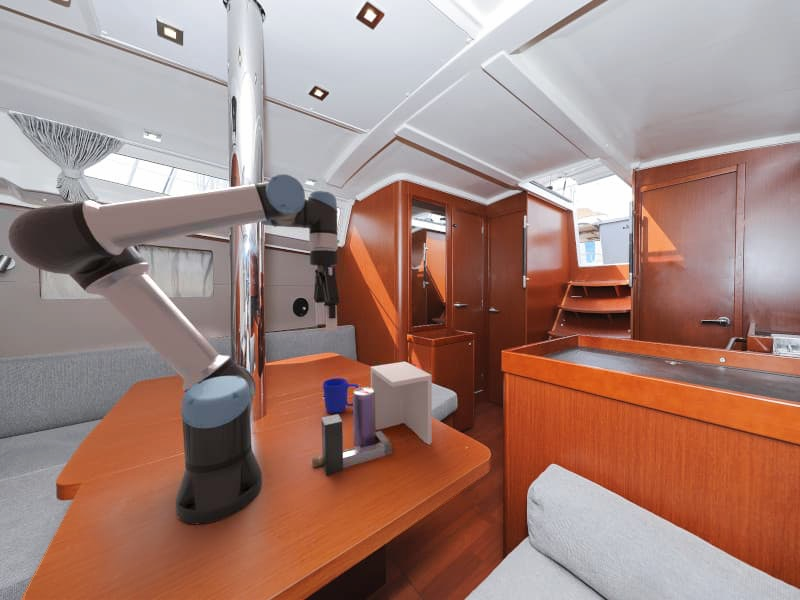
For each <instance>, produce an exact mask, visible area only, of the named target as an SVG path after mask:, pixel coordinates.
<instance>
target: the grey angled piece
mask: <svg viewBox="0 0 800 600" xmlns="http://www.w3.org/2000/svg"><path fill="white" fill-rule="evenodd" d="M321 440H322V442H321V445H322V447H321V448H322V449H321V451H322V452H321V453H322V455H321V456H323V465H322V468H323V471H324V474H325V477H327V476H331V475H334V474H337V473H341V472H344V469H345V468H348V467H351V466H355V465H358V464H361V463H365V462H368V461H372V460H376V459H379V458H382V457H386V456H389V455H392V454H393V444H392V442H390V440H389V438H388V437H386V435H385V434H384V433H383V432H382V430H377V431H376V442H375V444H374V445H370V446H367V447H363V448H359V449H356V450H352V451H348V452H344V453H343V450H344V442H343V441H344V440H343V420H342V418H341V416H340V415H339V413H336V414H333V415H327V416H323V417H321Z"/></svg>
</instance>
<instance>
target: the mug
mask: <svg viewBox="0 0 800 600" xmlns="http://www.w3.org/2000/svg"><path fill="white" fill-rule="evenodd" d="M349 387H355V389H357V388H359V384H358V383H348V380H347V379H345V378H340V377H339V378H338V377H334V378H330V379H329V378H328V379H326V380H324V381H323V383H322V388H323V398H324V407H325V410H326V412H327V413H329V414H339V413H342V412H343V411H345V409H346V407H347V406H348V407H353V402H352V403H349V402H348V390H349Z"/></svg>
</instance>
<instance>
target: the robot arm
mask: <svg viewBox="0 0 800 600" xmlns="http://www.w3.org/2000/svg"><path fill="white" fill-rule="evenodd" d="M305 193H306V192H305V188H304V187H303V184H302V183H301V182H300V181H299V179H297V178H296V177H295V176H293V175H291V174H286V173H279V174H275V175H273V176H272V177H271V178H270V179H269V180H268V181H265V182H259V183H254V184H247V185H246V184H245V185H240V186H230V187H226V188H225V187H224V188H218V189H209V190H204V191H203V190H201V191H195V192H187V193H181V194H173V195H168V196H167V195H166V196H158V197H151V198H144V199H138V200H136V199H135V200H129V201H123V202H115V203H108V204H100V203H98V202H96V201H93V200H91V199H90V200H82V201H75V202H74V201H73V202H66V203H58V204H52V205H45V206H40V207H35V208H34V209H30V210H27V211H25V212H23V213H22V214H20V215H19V216H17V217H15V219H14V220H13V222H12V223H11V224H10V227H9V230H8V241H9V245H10V247H11V249H12V250H13V252H14V253H15V254H16V255H17V257H19V258H20V259H21V260H22V261H24V262H25V263H26V264H28V265H30V266H32V267H34V268H35V269H38V270H41V271H45V272H49V273H53V274H61V275H68V276H70V278H72V280H74V281H75V282H76V283H77V284H78V286H80V288H81V289H82V290H83V291H84V292H85V293H87V294H92V295H99V296H102V297H103V298H104V299H105V300H106V301H107V302H108V303H109V304H110V305H111V307H113V308H114V309H115V310H116V311H117V312H118V313H119V314H120V315H121V317H123V318H124V320H125V321H127V322H128V323H129V325H131V327H133V328H134V330H135V331H136V332H137V333H138V334H139V335H140V336H141V337H142V338H143V339H144V340H145V341H146V342H147V343H148V344H149V345H150V346H151V348H153V349H154V350H155V351H156V352H157V354H159V355H160V356H161V357H162V358H163V360H165V361H166V362H167V364H168V365H169V366H170V367H172V368H173V370H174V371H176V373H177V374H178V375H179V376H180V377H181V378H182V380H183V383H182V385H183V386H182V391H183V392H184V395H182V396H183V397H182V401H181V407H180V413H181V414H180V416H181V418H182V429H183V430H182V432H183V433H182V435H183V450H184V452H183V453H184V461H185V462H184V463H185V464H184V468H185V469H184V473H183V475H182V478H181V482H180V485H179V488H178V492H177V494H176V498H175V514H176V516H178V517H179V518H178V517H177V518H178V519H179V520H180V519H181V520H182V521H181V520H180V521H181V522H183V521H184V522H183V523H185V522H187V523H186V524H189V523H193V525H203V524H209V523H212V522H216V521H219V520H222V519H225V518H227V517H229V516H231V515H233V514H235V513H238V512H239V511H240V510H242V509H243V508H245V507H246V506H247V505H249V504H250V502H252V501H253V500H254V499H255V498H256V497H257V495H258V494H259V492H260V491H261V488H262V485H263V484H262V483H263V479H262V478H263V475H262V469H261V467H260V465H259V462H258V461H257V459H256V456H255V453H254V452H253V450H252V425H251V424H252V423H251V419H252V418H251V414H252V408H253V403H254V397H255V396H256V388H257V386H256V382H255V379H254V376H253V375H252V373H251V371H250V370H249V369H247V368H245V367H243V366H241V365H238V364H237V363H236V361H235V360H234V359H233V358H232V356H230V355H227V354H226V355H223V354H220V353H218V352H217V350H216V349H215V348H214V347H213V345H211V343H209V341H208V340H207V339H206V338H205V337H204V336H203V334H201V332H199V330H198V329H197V328H196V327H195V326H194V324H192V323H191V321H190V320H189V319H188V318H187V317H186V316H185V315H184V314H183V312H182V311H181V310H180V308H178V307H177V306H176V304H174V302H172V300H171V299H170V298H169V297H168V296H167V294H166V293H164V291H163V290H162V289H161V288H160V287H159V286H158V285H157V283H156V282H155V281H154V280H153V279H152V278H151V277H150V276H149V274H148V271H149V269H150V264H149V263H148V262H147V261H146V259H145V258H144V257H143V255H141V254H140V249H139V246H141V245H145V244H150V243H155V242H162V241H165V240H171V239H177V238H181V237H187V236H193V235H198V234H203V233H207V232H208V233H209V232H213V231H218V230H225V229H230V228H234V227H238V226H244V225H250V224H255V223H261V224H262V225H264V226H271V227H274V228H277V227H283V228H284V227H285V228H287V227H288V228H300V229H301V228H302V229H308V230H309V231H308V232H309V236H308V239H309V240H308V241H309V242H308V243H309V250H311V251H309V263H310V266H311V265H312V266H317V269H315V270H314V275H315V279H314V290H313V291H314V292H313V300H314V302H315V303H314V304H315V325H325V331H326V332H335V331H336V332H337V331H338V315H337V314H338V308H337V306H338V305H339V304H340V298H339V297H340V296H339V290H338V283H337V278H336V267H334V266H338V264H339V253H338V251H337V250H338V247H339V245H338V244H339V243H340V240H339V239H338V212H339V211H338V206H337V205H338V203H337V198H336V196H335V194H334V193H332V192H329V191H324V190H314V191H311V192H309V193H308V196H307V198H306V194H305ZM197 523H198V524H197ZM201 523H202V524H201Z"/></svg>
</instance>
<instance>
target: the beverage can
mask: <svg viewBox="0 0 800 600" xmlns="http://www.w3.org/2000/svg"><path fill="white" fill-rule="evenodd" d="M352 403H353V406H352V420H353V421H352V423H353V426H352V429H353V446H354V447H357V446H360V447H361V448H363V447H367V446H370V445H374V444H376V443H375V442H376V432H377V430H376V429H375V393H374V389H372V388H371V387H367V386H366V387H365V386H363V387H358V388H357V389H356V388H355V389H354V390H353V394H352Z"/></svg>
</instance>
